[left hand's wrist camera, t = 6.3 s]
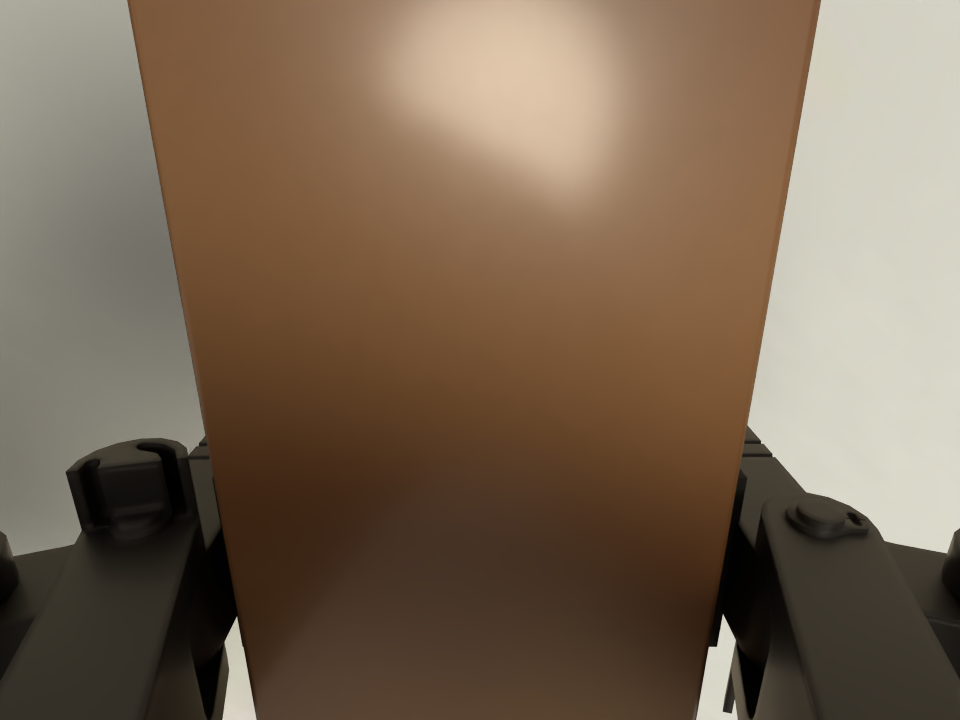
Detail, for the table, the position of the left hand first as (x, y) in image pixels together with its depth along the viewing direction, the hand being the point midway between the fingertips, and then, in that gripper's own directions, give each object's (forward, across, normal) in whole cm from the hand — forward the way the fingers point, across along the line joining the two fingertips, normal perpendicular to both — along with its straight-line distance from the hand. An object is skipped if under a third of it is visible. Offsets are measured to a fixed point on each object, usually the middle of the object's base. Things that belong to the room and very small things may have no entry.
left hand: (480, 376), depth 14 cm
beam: (+1, 0, -20) cm, 20 cm away
